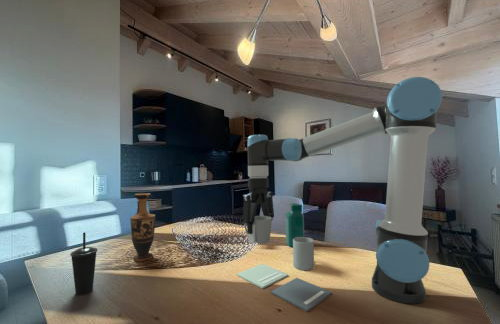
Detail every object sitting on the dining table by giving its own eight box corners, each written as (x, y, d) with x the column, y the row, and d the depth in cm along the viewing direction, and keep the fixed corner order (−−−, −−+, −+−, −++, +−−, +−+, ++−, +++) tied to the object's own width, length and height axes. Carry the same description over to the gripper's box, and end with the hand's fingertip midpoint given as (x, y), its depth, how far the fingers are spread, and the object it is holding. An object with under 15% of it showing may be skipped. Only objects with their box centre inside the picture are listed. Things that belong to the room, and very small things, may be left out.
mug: (314, 271, 94) (313, 243, 95) (292, 269, 97) (291, 242, 97) (314, 260, 106) (313, 235, 106) (294, 258, 108) (294, 234, 108)
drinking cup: (81, 285, 86) (81, 229, 86) (102, 285, 85) (102, 229, 86) (64, 297, 78) (64, 235, 78) (87, 297, 78) (87, 235, 78)
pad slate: (331, 293, 78) (331, 291, 78) (306, 311, 68) (306, 309, 68) (296, 279, 88) (296, 277, 88) (270, 293, 79) (270, 290, 79)
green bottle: (285, 242, 131) (284, 202, 132) (300, 241, 132) (299, 201, 132) (290, 248, 121) (289, 205, 122) (306, 247, 122) (305, 204, 123)
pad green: (288, 275, 91) (288, 273, 91) (262, 288, 82) (262, 286, 82) (262, 265, 101) (262, 263, 101) (236, 275, 92) (236, 273, 92)
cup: (271, 245, 82) (270, 220, 82) (242, 243, 84) (242, 219, 84) (273, 238, 90) (272, 215, 90) (247, 237, 92) (246, 215, 92)
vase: (158, 259, 110) (157, 193, 110) (132, 265, 104) (132, 195, 104) (152, 252, 119) (152, 192, 119) (128, 257, 112) (128, 193, 113)
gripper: (268, 176, 98) (269, 232, 97) (230, 178, 84) (231, 244, 83) (283, 176, 92) (284, 236, 92) (245, 178, 78) (246, 249, 78)
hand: (259, 240), depth 87 cm, fingers closed on cup, 7 cm apart
